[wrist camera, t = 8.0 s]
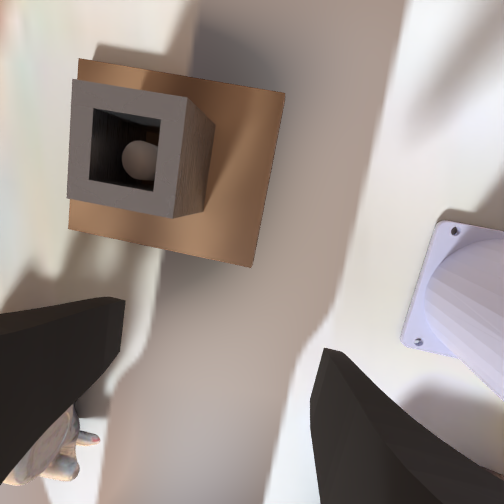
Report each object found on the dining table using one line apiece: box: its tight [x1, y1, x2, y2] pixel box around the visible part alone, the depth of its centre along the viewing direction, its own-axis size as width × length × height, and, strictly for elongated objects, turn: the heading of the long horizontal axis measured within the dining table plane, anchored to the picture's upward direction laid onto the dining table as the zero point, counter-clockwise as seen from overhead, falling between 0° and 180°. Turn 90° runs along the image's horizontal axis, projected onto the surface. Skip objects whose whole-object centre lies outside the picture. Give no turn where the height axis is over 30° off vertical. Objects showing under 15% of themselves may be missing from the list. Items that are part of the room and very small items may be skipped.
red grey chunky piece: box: [3, 403, 100, 486], centre depth 19 cm, size 11×11×12 cm
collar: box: [67, 79, 216, 219], centre depth 15 cm, size 5×5×5 cm
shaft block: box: [68, 58, 285, 268], centre depth 17 cm, size 12×10×4 cm
